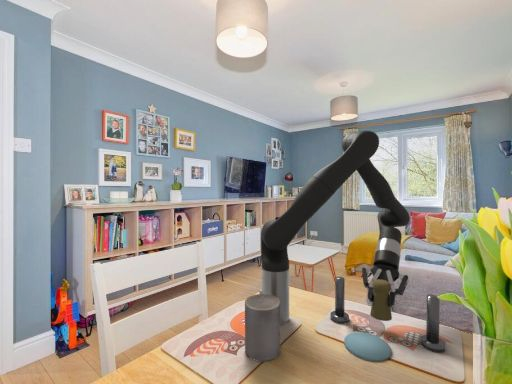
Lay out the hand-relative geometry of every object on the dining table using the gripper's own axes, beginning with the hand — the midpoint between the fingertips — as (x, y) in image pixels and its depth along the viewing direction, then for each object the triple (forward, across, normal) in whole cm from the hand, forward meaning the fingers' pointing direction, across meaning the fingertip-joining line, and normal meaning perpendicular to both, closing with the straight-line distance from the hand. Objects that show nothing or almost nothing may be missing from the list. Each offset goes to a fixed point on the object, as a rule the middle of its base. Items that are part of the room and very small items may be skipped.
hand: (380, 302), depth 79 cm
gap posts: (+5, 0, +8) cm, 10 cm away
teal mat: (+13, -2, 0) cm, 13 cm away
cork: (+2, 0, +5) cm, 5 cm away
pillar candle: (+26, -25, -12) cm, 38 cm away
